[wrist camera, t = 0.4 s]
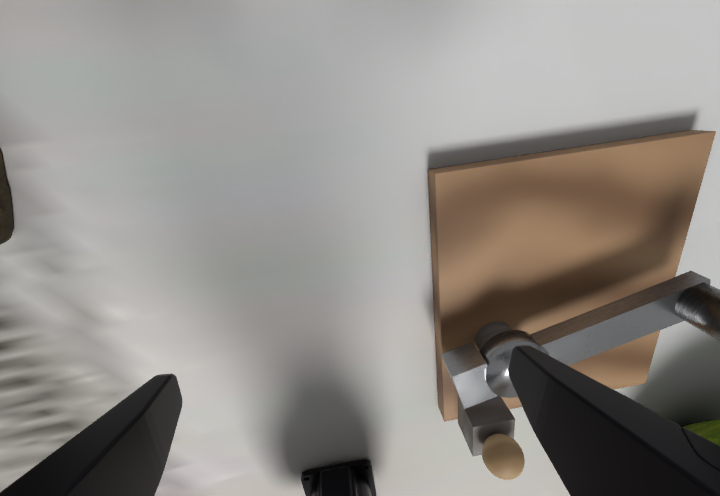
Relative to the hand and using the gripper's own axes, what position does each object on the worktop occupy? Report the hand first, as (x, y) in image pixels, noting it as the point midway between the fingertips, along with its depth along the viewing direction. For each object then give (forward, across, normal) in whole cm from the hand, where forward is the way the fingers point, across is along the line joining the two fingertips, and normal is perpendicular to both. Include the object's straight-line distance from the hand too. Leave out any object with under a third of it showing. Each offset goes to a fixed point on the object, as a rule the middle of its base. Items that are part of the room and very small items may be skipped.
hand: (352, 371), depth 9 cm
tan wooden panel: (+14, -16, +7) cm, 23 cm away
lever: (+11, -16, +8) cm, 21 cm away
